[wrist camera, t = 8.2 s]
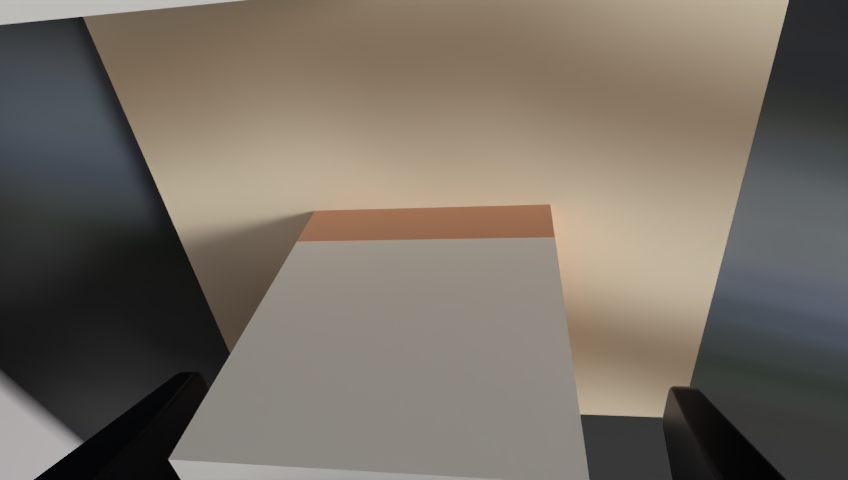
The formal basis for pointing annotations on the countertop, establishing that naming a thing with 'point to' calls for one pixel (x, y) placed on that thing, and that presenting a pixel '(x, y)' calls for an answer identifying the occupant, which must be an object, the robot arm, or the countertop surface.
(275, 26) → the pin board
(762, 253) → the countertop surface
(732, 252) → the countertop surface
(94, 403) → the countertop surface
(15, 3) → the seated sleeve
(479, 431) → the banded sleeve
